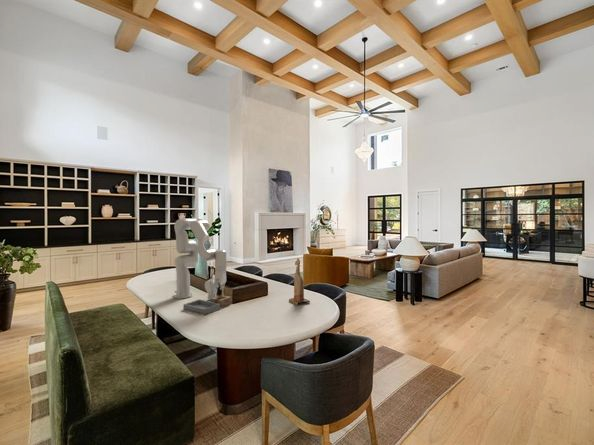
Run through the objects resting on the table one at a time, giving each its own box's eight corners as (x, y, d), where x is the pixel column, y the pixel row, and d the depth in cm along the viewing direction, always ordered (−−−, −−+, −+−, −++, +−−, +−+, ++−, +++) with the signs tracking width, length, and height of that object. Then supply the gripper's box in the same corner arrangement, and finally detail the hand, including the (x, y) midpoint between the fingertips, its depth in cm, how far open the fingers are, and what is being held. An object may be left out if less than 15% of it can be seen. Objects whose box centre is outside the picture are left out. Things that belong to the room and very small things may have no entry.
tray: (183, 309, 191) (183, 304, 191) (199, 304, 203) (199, 299, 202) (204, 315, 181) (204, 309, 181) (220, 309, 192) (219, 303, 192)
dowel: (217, 303, 200) (217, 282, 199) (219, 301, 204) (219, 281, 203) (222, 303, 199) (222, 283, 199) (224, 301, 203) (224, 281, 202)
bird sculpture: (301, 299, 214) (300, 256, 214) (310, 303, 204) (309, 257, 204) (288, 302, 208) (287, 257, 208) (297, 306, 198) (295, 259, 198)
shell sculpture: (211, 302, 207) (211, 277, 206) (204, 300, 212) (204, 275, 211) (220, 299, 214) (220, 275, 213) (213, 297, 219) (213, 273, 218)
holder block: (210, 305, 200) (210, 298, 199) (221, 301, 208) (221, 294, 208) (221, 308, 194) (221, 300, 194) (231, 304, 203) (231, 296, 203)
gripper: (220, 265, 209) (220, 290, 210) (210, 270, 193) (210, 297, 194) (230, 266, 208) (230, 291, 209) (220, 270, 192) (221, 298, 192)
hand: (220, 294), depth 201 cm, fingers closed on dowel, 3 cm apart
